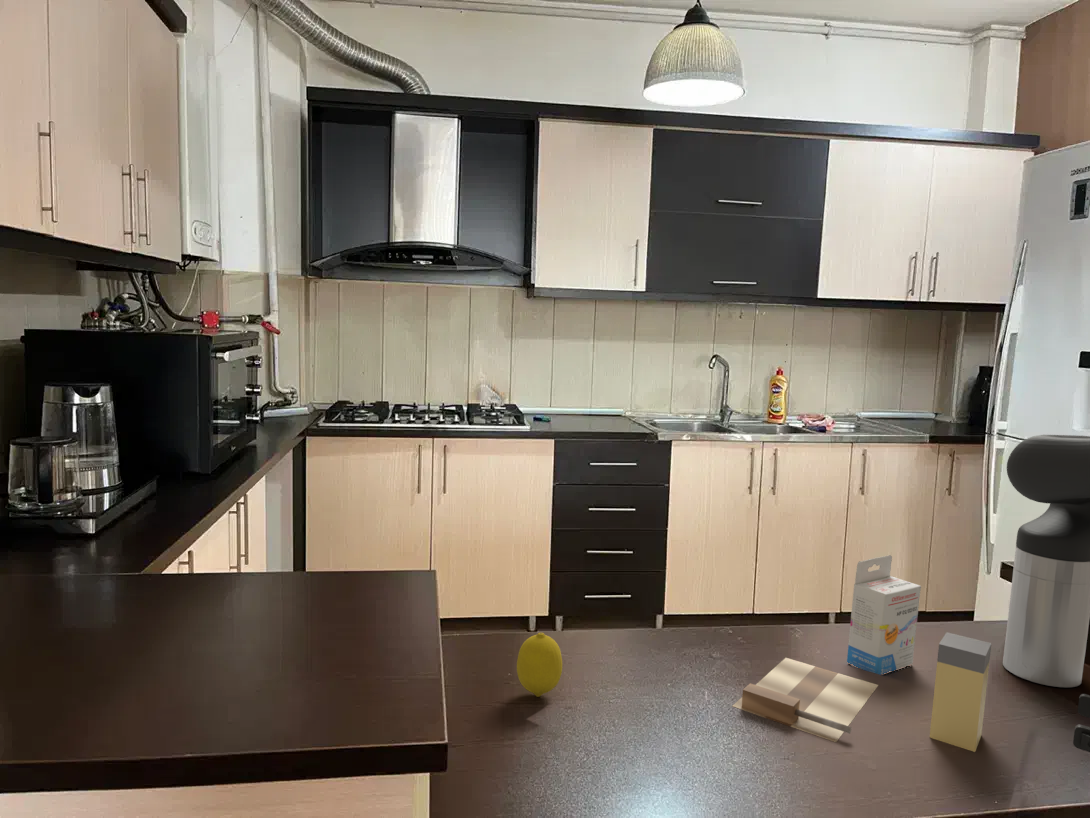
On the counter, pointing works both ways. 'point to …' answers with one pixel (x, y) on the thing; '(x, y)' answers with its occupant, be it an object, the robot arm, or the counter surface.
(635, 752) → the counter surface
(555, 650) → the lemon
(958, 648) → the yellow block grey top
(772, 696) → the awl
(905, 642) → the ink box
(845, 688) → the plywood panel
